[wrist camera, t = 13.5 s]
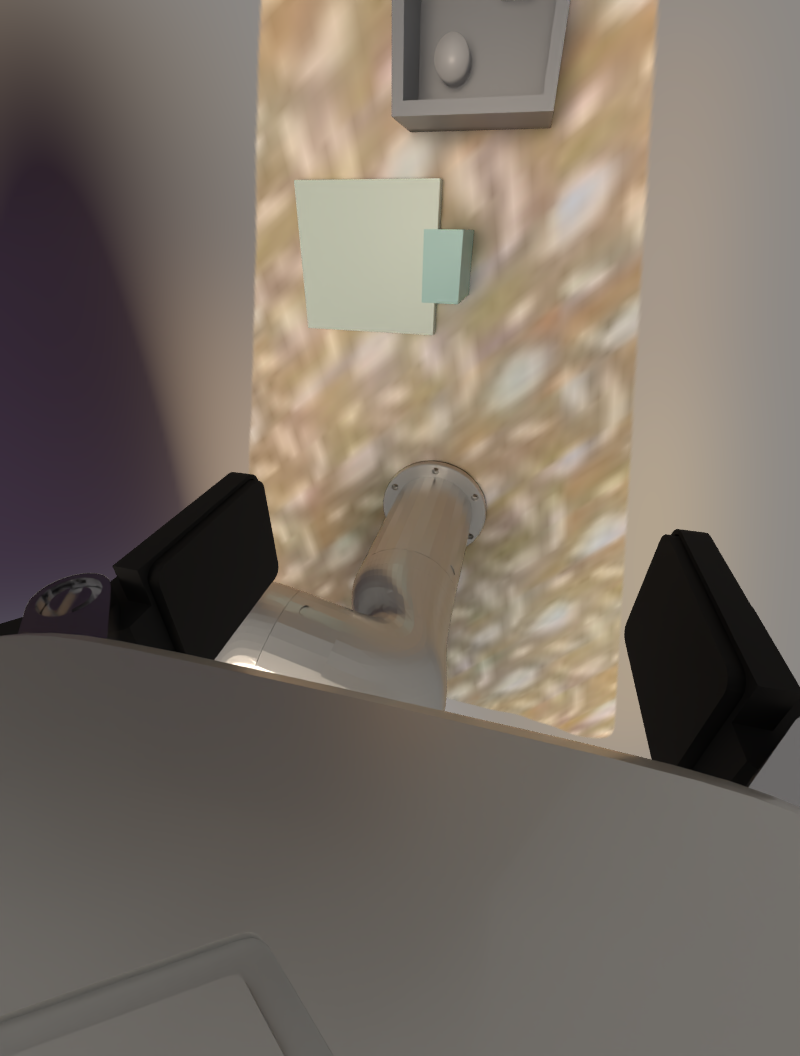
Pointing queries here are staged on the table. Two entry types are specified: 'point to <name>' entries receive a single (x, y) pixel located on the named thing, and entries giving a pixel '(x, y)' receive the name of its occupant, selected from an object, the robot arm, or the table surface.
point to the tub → (476, 63)
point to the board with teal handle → (379, 254)
